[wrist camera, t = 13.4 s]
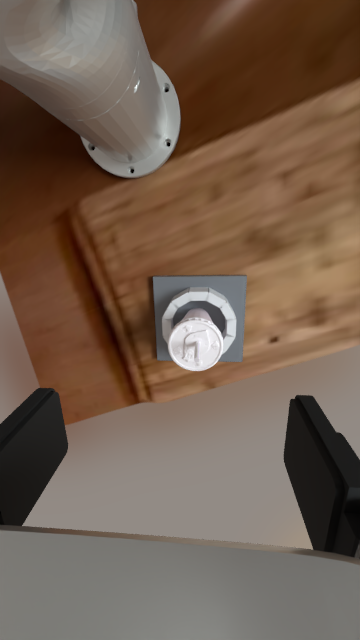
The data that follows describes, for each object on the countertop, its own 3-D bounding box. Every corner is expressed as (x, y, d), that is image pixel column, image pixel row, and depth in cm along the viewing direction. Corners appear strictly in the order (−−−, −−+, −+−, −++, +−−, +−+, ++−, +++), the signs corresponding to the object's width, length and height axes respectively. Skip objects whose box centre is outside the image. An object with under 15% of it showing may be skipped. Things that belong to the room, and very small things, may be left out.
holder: (154, 275, 40) (148, 280, 36) (245, 274, 39) (250, 279, 35) (158, 357, 44) (154, 369, 40) (241, 358, 43) (245, 371, 39)
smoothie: (228, 313, 40) (239, 355, 26) (204, 347, 42) (203, 403, 28) (190, 290, 39) (182, 321, 26) (167, 326, 41) (149, 372, 28)
